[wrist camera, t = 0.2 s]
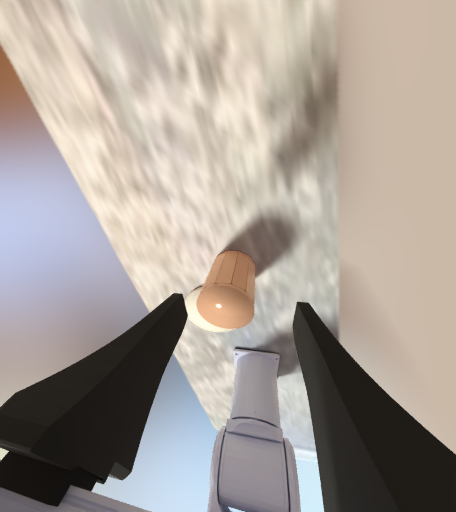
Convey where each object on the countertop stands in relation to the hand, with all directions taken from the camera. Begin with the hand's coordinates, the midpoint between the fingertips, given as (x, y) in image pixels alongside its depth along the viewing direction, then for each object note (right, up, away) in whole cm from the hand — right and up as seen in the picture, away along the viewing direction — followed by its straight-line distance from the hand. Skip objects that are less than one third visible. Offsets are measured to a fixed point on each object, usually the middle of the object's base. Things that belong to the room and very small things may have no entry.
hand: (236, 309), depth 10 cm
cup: (0, +2, +11) cm, 11 cm away
